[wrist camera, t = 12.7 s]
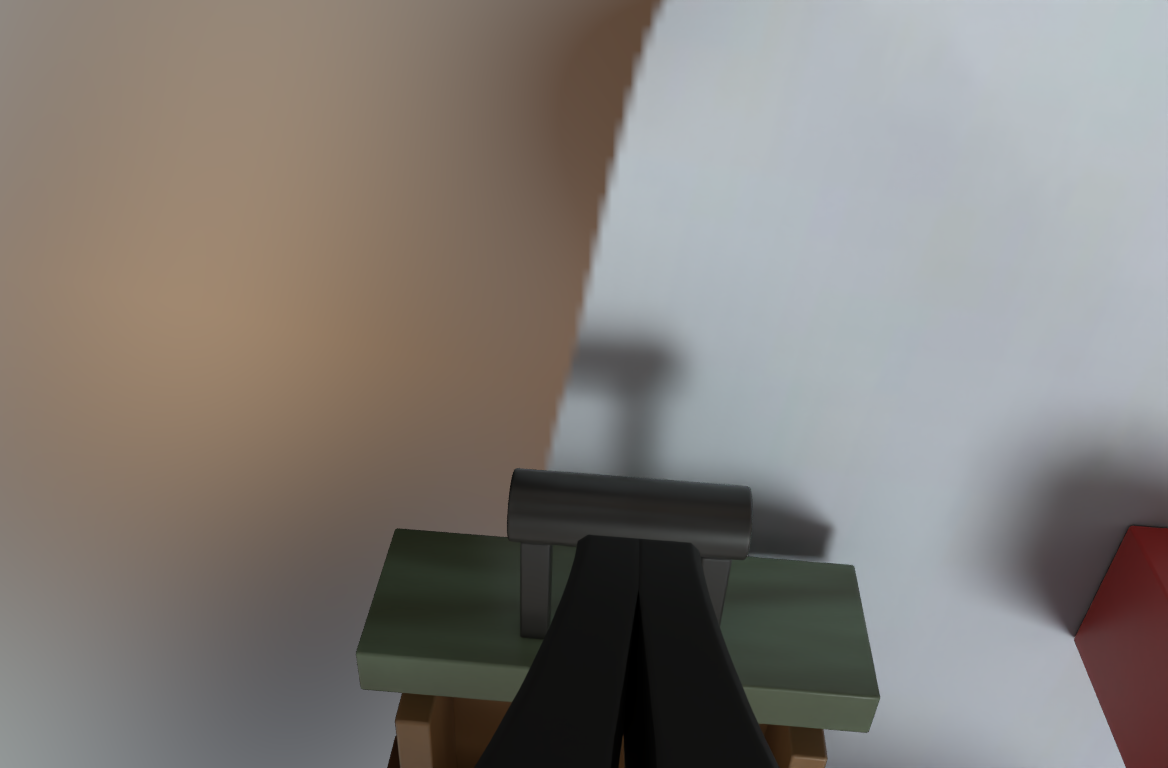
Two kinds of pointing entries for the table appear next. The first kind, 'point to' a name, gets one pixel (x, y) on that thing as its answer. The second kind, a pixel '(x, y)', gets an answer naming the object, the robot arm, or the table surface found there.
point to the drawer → (535, 587)
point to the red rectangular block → (1132, 647)
